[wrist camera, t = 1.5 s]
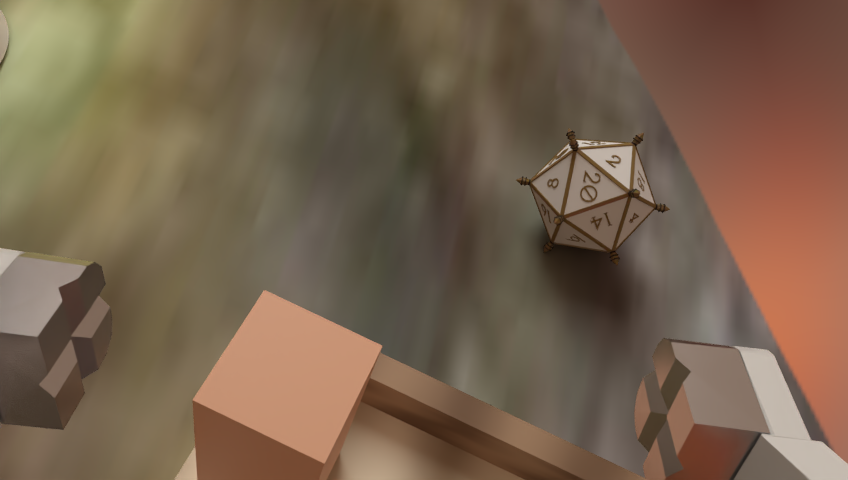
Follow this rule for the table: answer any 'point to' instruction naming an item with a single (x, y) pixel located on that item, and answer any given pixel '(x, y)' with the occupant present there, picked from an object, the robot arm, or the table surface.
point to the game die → (593, 194)
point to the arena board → (447, 438)
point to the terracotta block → (281, 396)
